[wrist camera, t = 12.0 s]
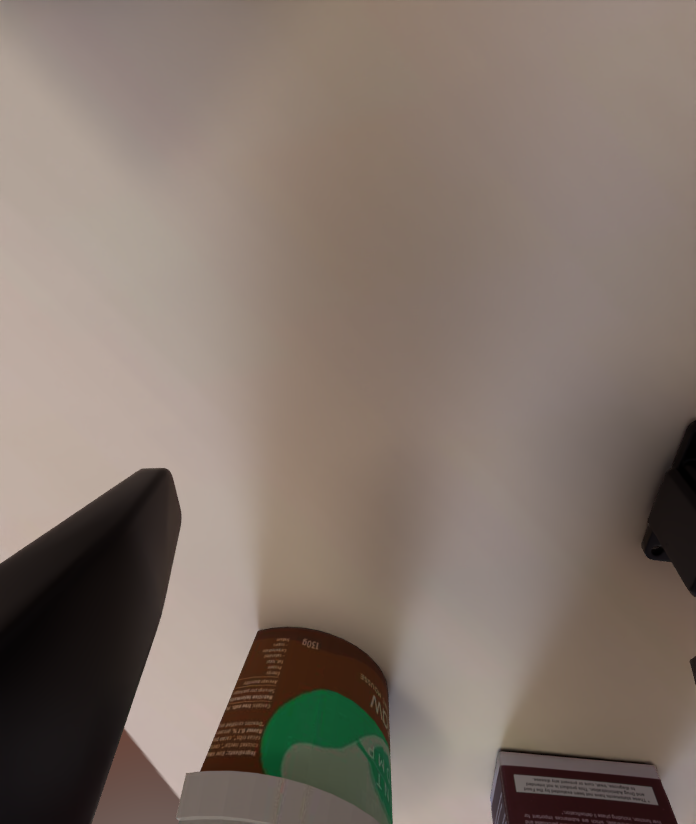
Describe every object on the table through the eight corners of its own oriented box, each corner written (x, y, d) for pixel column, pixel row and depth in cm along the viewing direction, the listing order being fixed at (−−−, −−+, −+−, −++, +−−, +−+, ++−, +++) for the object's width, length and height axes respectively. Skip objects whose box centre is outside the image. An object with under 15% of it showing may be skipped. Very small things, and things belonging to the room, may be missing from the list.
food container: (443, 739, 31) (456, 986, 22) (344, 756, 32) (318, 991, 24) (354, 581, 26) (324, 812, 17) (243, 610, 28) (164, 834, 19)
